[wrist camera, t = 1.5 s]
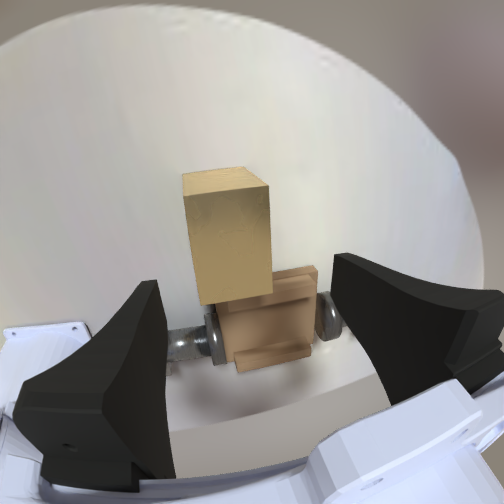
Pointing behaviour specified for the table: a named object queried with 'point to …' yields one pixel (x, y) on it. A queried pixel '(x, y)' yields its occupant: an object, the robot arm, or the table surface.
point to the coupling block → (229, 233)
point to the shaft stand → (262, 325)
